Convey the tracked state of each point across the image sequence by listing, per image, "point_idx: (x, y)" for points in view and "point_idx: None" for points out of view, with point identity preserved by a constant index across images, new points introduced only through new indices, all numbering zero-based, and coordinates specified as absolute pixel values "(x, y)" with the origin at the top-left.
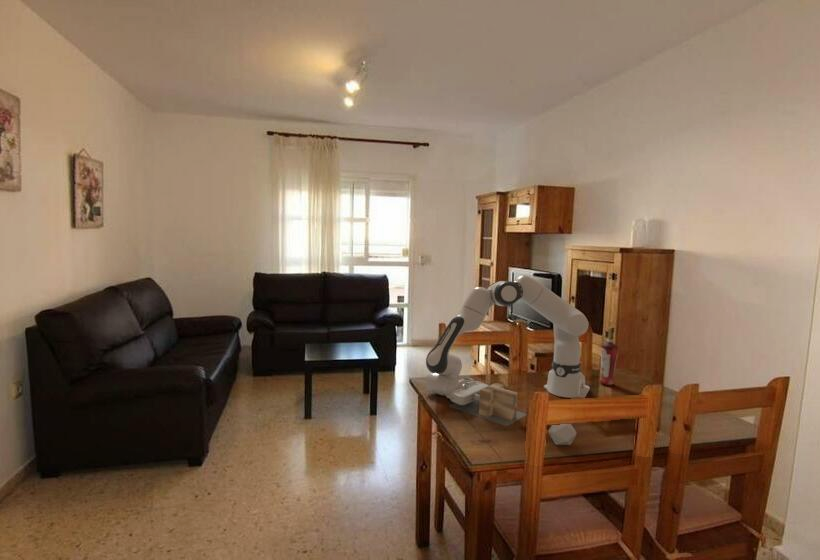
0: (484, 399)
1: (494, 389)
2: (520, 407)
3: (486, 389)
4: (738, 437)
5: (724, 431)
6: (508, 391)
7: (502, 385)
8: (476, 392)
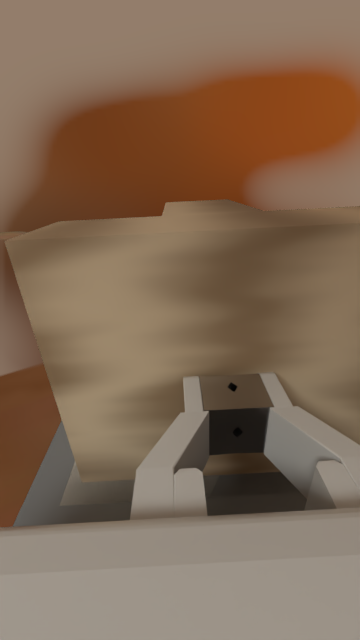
0: None
1: (252, 212)
2: (10, 377)
3: (344, 215)
4: (25, 232)
5: (8, 235)
6: (190, 205)
7: (81, 221)
8: (318, 510)
